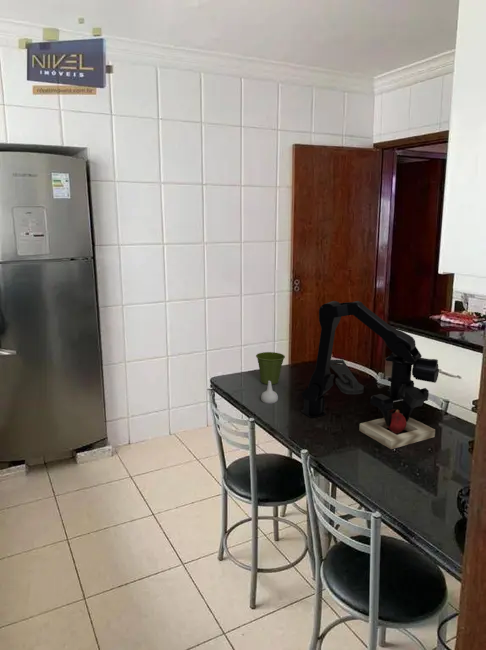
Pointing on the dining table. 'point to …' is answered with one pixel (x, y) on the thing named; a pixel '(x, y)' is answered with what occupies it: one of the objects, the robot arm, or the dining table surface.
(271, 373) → the plant pot
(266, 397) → the garlic bulb
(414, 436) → the cutout board
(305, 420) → the dining table surface
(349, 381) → the zipper pull
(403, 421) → the onion
